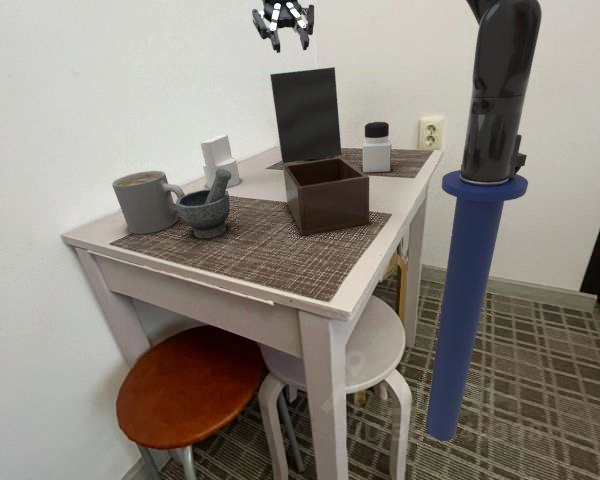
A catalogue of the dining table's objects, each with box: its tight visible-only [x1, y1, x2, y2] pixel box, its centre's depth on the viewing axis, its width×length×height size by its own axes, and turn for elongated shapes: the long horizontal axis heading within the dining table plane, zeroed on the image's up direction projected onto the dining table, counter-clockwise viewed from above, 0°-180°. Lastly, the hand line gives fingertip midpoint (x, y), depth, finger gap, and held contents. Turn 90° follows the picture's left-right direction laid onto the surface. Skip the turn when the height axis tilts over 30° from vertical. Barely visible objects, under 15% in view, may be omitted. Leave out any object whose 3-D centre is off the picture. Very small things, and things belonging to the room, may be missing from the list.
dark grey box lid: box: [269, 66, 342, 164], centre depth 66 cm, size 17×13×1 cm
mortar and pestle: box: [175, 169, 231, 239], centre depth 61 cm, size 11×9×12 cm
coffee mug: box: [111, 170, 186, 235], centre depth 67 cm, size 13×10×10 cm
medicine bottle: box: [362, 121, 392, 174], centre depth 87 cm, size 7×7×12 cm
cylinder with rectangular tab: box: [200, 134, 241, 189], centre depth 88 cm, size 9×9×12 cm
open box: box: [282, 156, 370, 236], centre depth 64 cm, size 16×13×9 cm
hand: (292, 47), depth 68 cm, fingers open, 5 cm apart
